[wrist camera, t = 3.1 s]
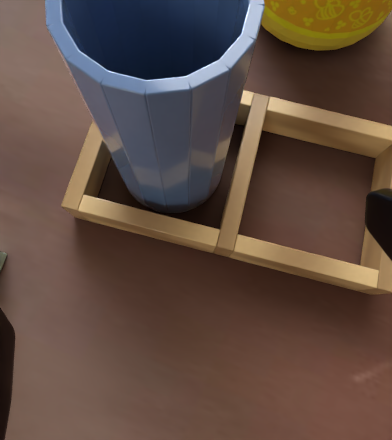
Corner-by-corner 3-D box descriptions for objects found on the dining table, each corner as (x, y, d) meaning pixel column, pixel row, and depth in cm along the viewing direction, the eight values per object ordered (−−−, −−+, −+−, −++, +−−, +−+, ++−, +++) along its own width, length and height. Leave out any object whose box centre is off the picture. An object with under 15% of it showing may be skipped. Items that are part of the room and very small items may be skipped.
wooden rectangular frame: (391, 148, 24) (414, 131, 22) (372, 294, 22) (395, 293, 19) (121, 82, 25) (114, 58, 22) (74, 217, 22) (60, 206, 20)
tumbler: (232, 133, 24) (282, -61, 11) (208, 224, 22) (236, 117, 10) (138, 109, 24) (86, -105, 12) (108, 199, 23) (11, 62, 10)
